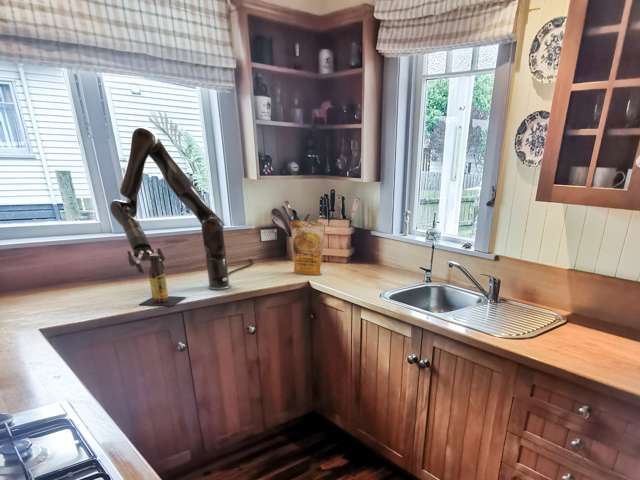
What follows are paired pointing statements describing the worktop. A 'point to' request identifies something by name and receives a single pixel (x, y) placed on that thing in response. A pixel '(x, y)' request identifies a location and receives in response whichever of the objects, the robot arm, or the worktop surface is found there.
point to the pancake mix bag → (307, 246)
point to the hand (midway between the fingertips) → (152, 271)
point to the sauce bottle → (157, 280)
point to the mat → (169, 303)
